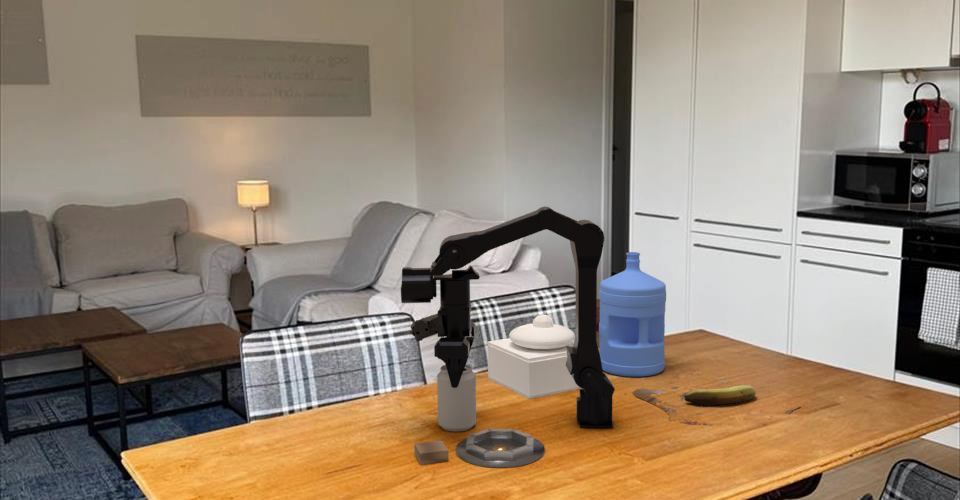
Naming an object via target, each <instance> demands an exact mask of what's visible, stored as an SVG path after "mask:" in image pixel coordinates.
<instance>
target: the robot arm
mask: <svg viewBox="0 0 960 500" xmlns="http://www.w3.org/2000/svg"><path fill="white" fill-rule="evenodd" d="M545 230H548V231H550V232H552V233H554V234H556V235H557V236H560V237H562V238H564V239H566V240H568V241H569V243H570V249H571V253H572V258H573V263H574V267H575V338H574V340H573V341H574V344H573V347H570V346H566V351H567V362H566V364H565V365H566V367H567V369H568V371H569V373H570V375H572V377H573V379H574V381H575V383H576V384H577V385H578V386H579V387H580V388H581V389H578V390H579V393H578V395H579V396H577V397H576V399H575V401H576V403H575V405H576V408H575V409H576V411H575V412H576V413H575V415H576V416H575V417H576V422H578V425H579V428H594V429H595V428H601V429H602V428H605V429H606V428H607V429H608V428H609V429H611V428H613V429H614V422H613V397H614V396H613V395H614V393H615V391H616V389H615V386H613V383H612V381H610V379H609V377H608V376H607V375H606V374H605V372H604V370H603V369H602V363H601V358H600V354H599V346H598V342H597V337H598V336H597V334H598V333H597V332H598V331H597V315H598V314H597V311H598V310H597V303H598V301H597V299H598V295H597V294H598V292H597V291H598V290H597V289H598V285H597V284H598V274H597V273H598V268H599V264H600V261H601V258H602V254H603V250H604V249H603V248H604V244H605V243H604V242H605V234H604V231H603V229H602V228H601V227H600V226H599V225H597V224H596V223H594V222H593V221H591V220H589V219H580V220H576V219H573V218H571V217H569V216H567V215H565V214H563V213H560V212H558V211H555V210H554V209H552V208H551V207H549V206H541V207H539V208H538V209H536V210H533V211H531V212H529V213H526V214H523V215H521V216H518V217H515V218H512V219H510V220H507V221H505V222H502V223H500V224H496V225H493V226H492V227H488V228H485V229H483V230H478V231H469V232H464V233H458V234H452V235H449V236H447V237H445V238H444V239H443V240H442V241H441V243H440V246H439V252H438V256H437V257H436V258H435V259H434V261H432V263H431V265H430V267H406V266H403V267H402V269H401V285H400V299H401V300H400V301H401V304H430V303H431V302H432V300H434V298H437V297H438V296H437V294H438V293H437V291H438V290H437V288H438V287H437V281H439V299H440V300H439V303H440V305H439V310H437V313H435V314H431V315H429V316H426V317H422V318H420V319H416V320H415V321H414V322H413V321H412V323H411V325H410V329H411V336H413V337H414V339H415V341H416V342H417V343H418V342H420V341H423V340H424V339H426V338H430V337H432V336H435V335H437V338H439V339H438V340H437V341H436V343H435V345H434V346H433V347H434V348H433V350H434V351H433V352H434V353H433V355H434V357H435V358H437V359H438V360H441V362H443V363H444V365H446V368H447V371H448V375H449V379H450V383H451V387H452V388H457V387H458V384H459V382H460V379H461V376H462V373H463V371H464V368H465V365H466V364H468V360H469V357H470V353H471V350H472V347H473V343H474V341H475V336H476V324H475V323H474V321H472V319H471V312H472V304H471V281H472V280H473V281H474V280H480V273H479V272H478V271H476V270H475V269H474V267H473V265H469V266H468V267H467V268H466V269H462V268H464V267H465V266H467V265H468V264H470V263H472V262H474V261H475V260H476V261H477V259H479V258H480V257H481V256H483V255H484V254H486V253H487V252H489V251H491V250H494V249H496V248H498V247H503V246H504V245H508V244H511V243H513V242H515V241H519V240H520V239H521V240H522V239H524V238H526V237H529V236H531V235H534V234H537V233H539V232H542V231H545ZM450 270H451V273H448V271H450ZM446 273H448V274H446Z"/></svg>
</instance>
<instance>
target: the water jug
mask: <svg viewBox="0 0 960 500" xmlns="http://www.w3.org/2000/svg"><path fill="white" fill-rule="evenodd" d="M625 255H626V260H625V261H626V262H625V263H626V267H625V269H624V270H623V271H621V272H618V273H616V274H614V275H611V276H610V277H607V278H606V279H603V280H602V281H601V282H600V284H599V293H598V296H599V323H598V335H599V346H598V350H599V354H600V358H601V363H602V369H603V372H604V373H608V374H612V375H613V376H614V375H615V376H621V377H630V378H633V377H634V378H639V377H643V378H644V377H651V376H654V375H658V374H660V373H662V372H663V371H664V370H665V367H666V359H665V348H666V347H665V333H666V332H665V330H666V329H665V326H666V323H665V317H666V316H665V315H666V302H667V290H666V289H667V285H666V282H664V281H662V280H660V279H658V278H656V277H654V276H652V275H650V274H648V273H646V272H644V271H642V270H641V268H640V263H641V260H640V255H641V253H640V252H635V251H634V252H633V251H628V252H626V254H625Z"/></svg>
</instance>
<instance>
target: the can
mask: <svg viewBox="0 0 960 500" xmlns="http://www.w3.org/2000/svg"><path fill="white" fill-rule="evenodd" d="M439 369H440V371H439V372H438V373H437V376H436V385H437V387H436V389H437V392H436V393H437V394H436V396H437V399H436V400H437V424H438V426H440V427H441V428H442V429H443V430H445V431H448V432H463V431H464V432H465V431H468V430H470V429H472V428H473V426H475V424H477V384H476V383H477V382H476V381H477V380H476V379H477V374H476V373H475V372H474V371H473V366H472V365H470V364H468V363H466V365H465V368H464V371H463V373H462V376H461V379H460V382H459V384H458V387H457V388H452V387H451V383H450V379H449V375H448V371H447V368H446V365H445V364H444V365H442V366H440V368H439Z"/></svg>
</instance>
